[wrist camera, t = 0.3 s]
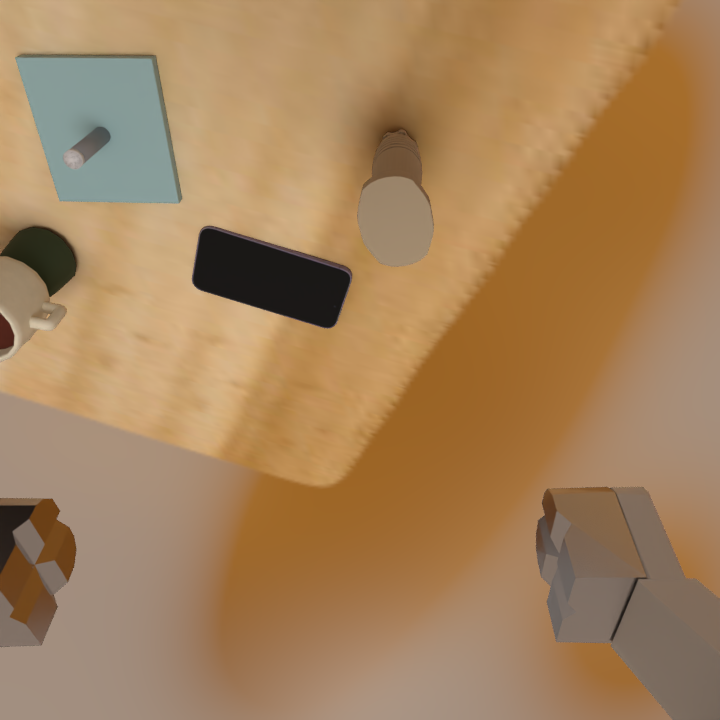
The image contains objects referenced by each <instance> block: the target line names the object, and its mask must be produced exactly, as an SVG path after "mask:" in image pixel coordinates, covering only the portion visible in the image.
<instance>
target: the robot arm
mask: <svg viewBox="0 0 720 720" xmlns="http://www.w3.org/2000/svg"><path fill="white" fill-rule="evenodd" d="M542 505H543V510H544V513H545V515H544V516H543V517H542V518H540V519H539V520H538V525H537V531H536V552H537V559H538V565H539V569H540V574H541V577H542V578H543V579H544V580H545V581H546V582H547V583H548V584H549V585H550V586H551V588H550V592H549V596H548V600H547V605H548V608H549V613H550V617H551V622H552V626H553V630H554V634H555V639H556V642H583V643H585V642H586V643H612V644H611V647H612V648H613V649H614V650H615V652H616V653H617V654H618V655H619V656H620V658H621V659H622V660H623V661H624V662H625V663H626V665H627V666H628V667H629V668H630V669H631V670H632V672H633V673H634V674H635V675H636V676H637V678H638V679H639V680H640V681H641V683H642V684H643V685H644V686H645V687H646V688H647V690H648V691H649V692H650V693H651V694H652V696H653V697H654V698H655V699H656V700H657V702H658V703H659V704H660V705H661V706H662V707H663V708H664V710H665V711H666V712H667V713H668V715H669V716H670V717H671V718H672V719H673V720H720V598H718V597H717V596H716V595H715V594H714V593H712V592H711V591H710V590H709V589H708V588H706V587H705V586H704V585H703V584H702V583H701V582H699V581H698V580H697V579H690V578H689V579H688V578H686V577H685V575H684V573H683V571H682V568H681V566H680V564H679V561H678V559H677V557H676V554H675V552H674V550H673V548H672V546H671V543H670V541H669V538H668V536H667V534H666V531H665V529H664V527H663V525H662V522H661V520H660V518H659V515H658V513H657V511H656V508H655V506H654V504H653V501H652V499H651V497H650V495H649V493H648V491H647V490H646V489H645V488H644V487H612V488H608V487H585V488H553V489H547V490H546V491H545V493H544V496H543V500H542ZM59 512H60V510H59V508H58V507H57V505H56V504H55V502H54V500H53V499H37V498H31V499H30V498H0V647H10V646H35V645H36V646H39V645H42V643H43V641H44V638H45V636H46V633H47V631H48V628H49V626H50V624H51V621H52V619H53V617H54V614H55V612H56V610H57V607H58V606H57V604H56V600H55V597H54V594H55V593H56V592H57V591H58V590H60V589H61V588H62V587H63V586H64V585H65V584H66V583H68V581H69V578H70V576H71V573H72V571H73V568H74V564H75V556H76V544H75V538H74V535H73V533H72V531H71V530H70V528H69V527H68V526H66V525H65V524H63V523H61V522H60V521H58V520H57V517H58V515H59Z"/></svg>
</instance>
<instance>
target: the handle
mask: <svg viewBox="0 0 720 720" xmlns="http://www.w3.org/2000/svg"><path fill="white" fill-rule="evenodd" d="M421 181H422V164H421V158H420V154H419V150H418V146H417V143H416V142H415V141H414V140H412V139H411V138H410V137H409V136H408V135H407V133H406V131H405V130H402V129H400V130H399V131H397V132H393V133H390V132H387V133H386V134H385V135H384V136H383V141H382V142H381V143H380V145H379V146H378V148H377V150H376V153H375V157H374V161H373V167H372V177H371V178H370V179H369V180H367V181H366V182H365V183H364V185H363V188H362V192H361V196H360V201H359V206H358V214H357V218H358V224H359V228H360V232H361V236H362V239H363V242H364V244H365V246H366V247H367V249H368V250H369V251H370V252H371V254H372V255H373V256H374V257H375V258H376V259H377V260H378V262H379V263H381V264H383V265H387V266H392V267H399V266H406V265H410V264H413V263H416V262H418V261H420V260H421V259H423V258H424V257H425V256H426V255H427V253H428V250H429V247H430V244H431V240H432V237H433V231H434V223H433V216H432V210H431V205H430V200H429V197H428V195H427V194H426V192H425V190H424V189H423V187H422V186H421Z"/></svg>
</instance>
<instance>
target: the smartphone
mask: <svg viewBox="0 0 720 720" xmlns="http://www.w3.org/2000/svg"><path fill="white" fill-rule="evenodd" d="M351 279H352V273H351V271H350V270H349V269H348V268H347V267H345V266H343V265H339V264H336V263H333V262H330V261H327V260H324V259H320V258H317V257H314V256H311V255H307V254H304V253H301V252H297V251H294V250H291V249H287V248H284V247H281V246H277V245H274V244H271V243H267V242H264V241H261V240H257V239H254V238H251V237H247V236H244V235H241V234H237V233H234V232H231V231H227V230H224V229H221V228H217V227H214V226H206V227H204V228H203V229H202V230H201V232H200V234H199V239H198V245H197V251H196V257H195V263H194V269H193V275H192V282H193V284H194V286H195V287H196V288H197V289H199V290H201V291H204V292H208V293H211V294H214V295H217V296H221V297H224V298H227V299H230V300H234V301H237V302H240V303H244V304H247V305H250V306H253V307H257V308H260V309H263V310H266V311H270V312H273V313H276V314H280V315H283V316H286V317H289V318H293V319H296V320H299V321H302V322H306V323H309V324H312V325H316V326H319V327H322V328H332V327H334V326H335V325H336V324H337V321H338V318H339V315H340V313H341V310H342V307H343V304H344V301H345V298H346V295H347V292H348V289H349V287H350V284H351Z"/></svg>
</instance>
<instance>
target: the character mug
mask: <svg viewBox="0 0 720 720" xmlns="http://www.w3.org/2000/svg"><path fill="white" fill-rule="evenodd" d="M75 272H76V263H75V260H74V257H73V254H72V251H71V250H70V249H69V248H68V246H67V245H66V244H65V242H64V241H63V240H62V239H61V238H59V237H58V236H56V235H55V234H53V233H52V232H50V231H49V230H44V229H39V228H34V227H32V228H29V229H25V230H21V231H19V232H18V233H17V235H16V236H15V237H14V238H13V239H12V240H11V241H10V242H9V244H8V245H7V246H6V247H5V249H4V250H3V252H2V253H1V255H0V362H2V361H4V360H7V359H9V358H11V357H12V356H14V355H15V354H16V352H17V351H18V350H19V349H20V348H21V346H22V345H24V344H25V343H26V342H27V341H28V340H30V338H31V337H32V336H33V335H34V333H35V332H36V331H37V330H38V329H40V330H45V331H52V330H53V329H55V328H56V326H57V325H58V324H59V323H60V321H61V320H62V319H63V317H64V316H65V314H66V312H67V309H66V308H65V306H62V305H60V304H54V303H49V301H50V297H51V296H52V295H53V294H55V293H56V292H57V291H59V290H60V289H61V288H62V287H63V286H64V285H65V284H66V283H67V282H68V281H69V280H70V279H71V278H73V277H74V276H75ZM48 314H51V315H50V316H49V317H48V318H47V319H46V317H47V315H48Z"/></svg>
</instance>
